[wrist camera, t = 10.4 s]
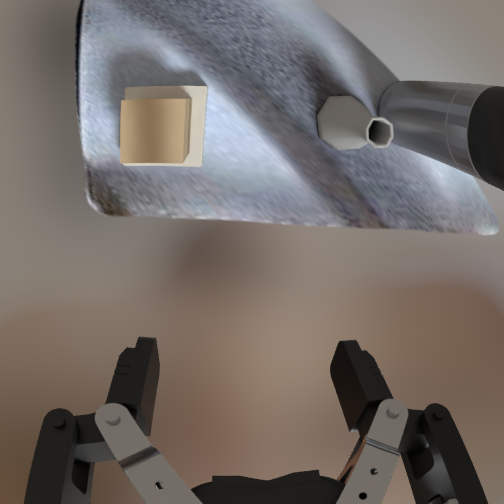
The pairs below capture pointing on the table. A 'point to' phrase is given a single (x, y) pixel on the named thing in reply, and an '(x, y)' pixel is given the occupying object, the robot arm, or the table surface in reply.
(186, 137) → the oak block
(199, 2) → the table surface
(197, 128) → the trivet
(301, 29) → the table surface
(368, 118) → the flask
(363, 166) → the table surface
